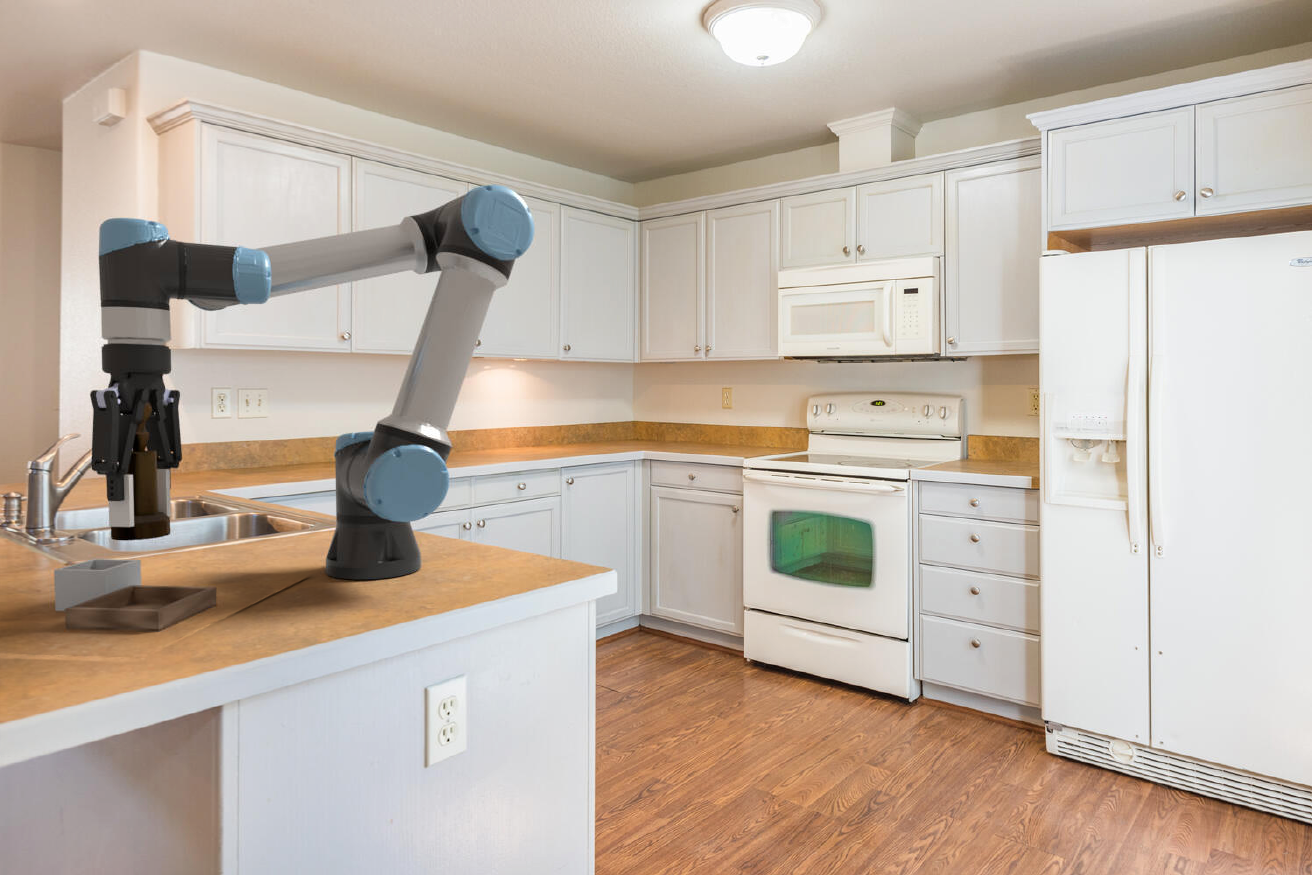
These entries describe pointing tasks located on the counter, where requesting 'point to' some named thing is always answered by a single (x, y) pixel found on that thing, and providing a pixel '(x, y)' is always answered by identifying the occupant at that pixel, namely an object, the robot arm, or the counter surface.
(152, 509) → the brown wooden tall piece
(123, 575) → the grey tub
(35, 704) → the counter surface
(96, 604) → the walnut tray
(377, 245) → the robot arm
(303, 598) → the counter surface
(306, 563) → the counter surface
